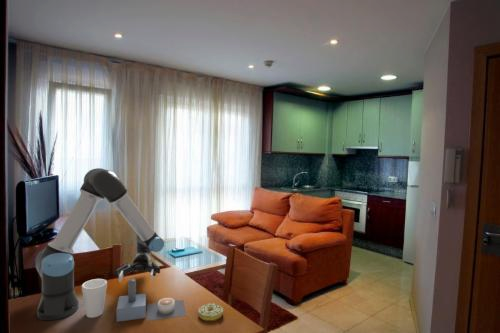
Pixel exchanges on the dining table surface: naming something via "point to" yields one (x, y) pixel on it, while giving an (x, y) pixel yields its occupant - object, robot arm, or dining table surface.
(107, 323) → the dining table surface
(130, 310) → the cover
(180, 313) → the mat
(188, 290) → the dining table surface
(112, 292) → the dining table surface
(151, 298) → the dining table surface
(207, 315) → the decorated donut
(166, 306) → the bowl
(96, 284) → the foam cup
